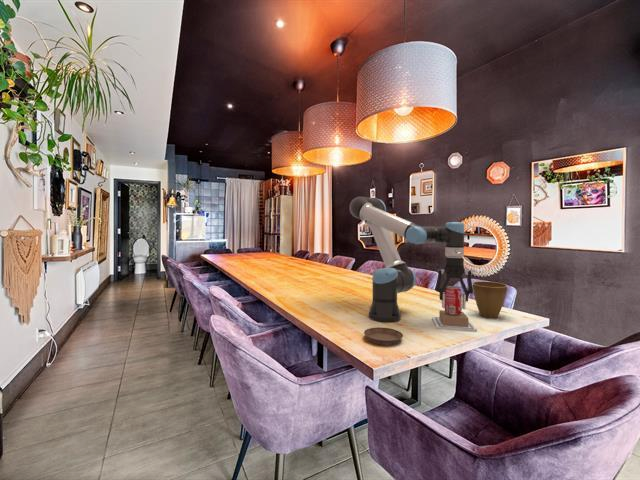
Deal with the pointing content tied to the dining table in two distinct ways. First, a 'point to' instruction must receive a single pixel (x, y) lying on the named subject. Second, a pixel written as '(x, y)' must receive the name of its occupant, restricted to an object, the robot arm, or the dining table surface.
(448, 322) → the base
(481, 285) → the plant pot
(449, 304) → the soda can
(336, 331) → the dining table surface
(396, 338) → the saucer
